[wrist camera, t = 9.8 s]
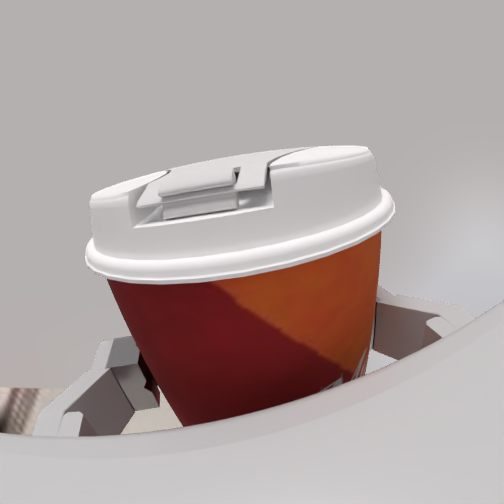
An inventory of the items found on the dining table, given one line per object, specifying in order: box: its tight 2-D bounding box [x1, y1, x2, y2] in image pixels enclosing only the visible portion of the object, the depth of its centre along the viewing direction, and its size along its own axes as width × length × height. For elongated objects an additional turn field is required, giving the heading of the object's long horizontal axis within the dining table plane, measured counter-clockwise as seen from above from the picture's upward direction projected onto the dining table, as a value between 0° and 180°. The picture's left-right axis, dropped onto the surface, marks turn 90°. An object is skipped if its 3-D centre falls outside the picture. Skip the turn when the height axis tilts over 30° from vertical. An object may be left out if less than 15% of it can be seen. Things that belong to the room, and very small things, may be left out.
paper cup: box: [85, 146, 395, 427], centre depth 10 cm, size 8×8×14 cm
